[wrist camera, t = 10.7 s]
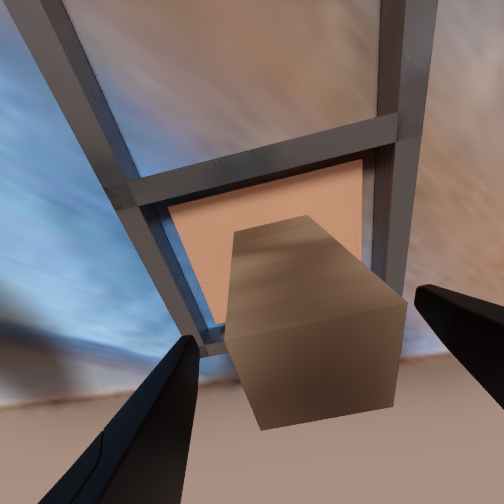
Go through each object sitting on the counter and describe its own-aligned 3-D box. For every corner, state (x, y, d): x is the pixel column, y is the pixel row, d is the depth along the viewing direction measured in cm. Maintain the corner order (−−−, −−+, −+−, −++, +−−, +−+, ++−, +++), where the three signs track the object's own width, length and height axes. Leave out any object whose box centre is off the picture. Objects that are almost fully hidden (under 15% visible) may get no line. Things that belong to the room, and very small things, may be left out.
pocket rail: (198, 342, 16) (194, 359, 15) (-71, -203, 6) (-161, -306, 5) (385, 303, 16) (399, 317, 14) (440, -399, 5) (509, -589, 4)
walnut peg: (250, 290, 14) (261, 430, 7) (233, 231, 12) (224, 340, 5) (314, 276, 14) (393, 406, 7) (307, 214, 12) (407, 302, 5)
